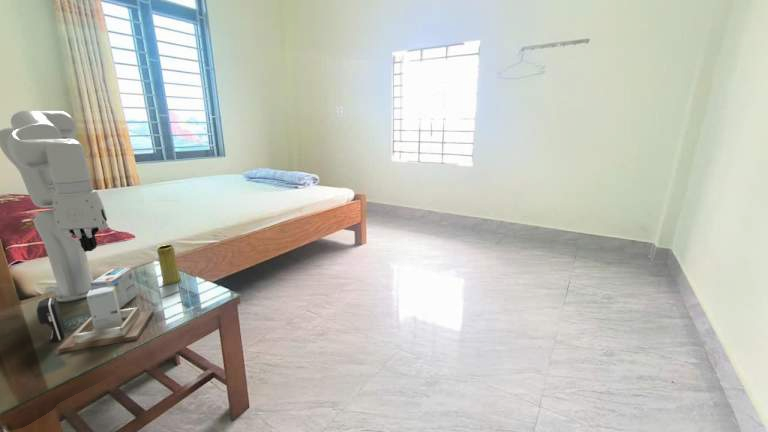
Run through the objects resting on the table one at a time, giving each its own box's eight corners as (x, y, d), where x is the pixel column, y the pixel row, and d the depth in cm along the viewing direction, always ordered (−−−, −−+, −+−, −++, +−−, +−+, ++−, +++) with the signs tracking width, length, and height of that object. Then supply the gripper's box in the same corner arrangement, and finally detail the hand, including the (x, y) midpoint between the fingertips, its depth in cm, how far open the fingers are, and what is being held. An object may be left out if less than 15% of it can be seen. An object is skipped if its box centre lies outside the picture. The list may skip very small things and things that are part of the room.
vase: (184, 279, 131) (177, 245, 127) (167, 286, 126) (160, 250, 122) (176, 276, 134) (169, 242, 131) (159, 282, 129) (152, 247, 126)
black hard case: (48, 334, 98) (37, 299, 95) (66, 329, 100) (55, 294, 97) (45, 345, 93) (33, 309, 90) (64, 340, 95) (53, 304, 92)
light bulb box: (118, 296, 119) (111, 268, 117) (138, 294, 120) (131, 267, 117) (96, 312, 109) (88, 282, 106) (118, 310, 110) (110, 280, 107)
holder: (59, 352, 90) (55, 340, 89) (86, 324, 102) (83, 313, 101) (137, 339, 95) (134, 327, 94) (153, 313, 108) (151, 303, 107)
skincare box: (95, 335, 95) (84, 296, 92) (97, 327, 99) (87, 290, 95) (122, 328, 98) (112, 290, 95) (123, 320, 102) (114, 284, 99)
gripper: (30, 191, 86) (50, 257, 91) (100, 188, 90) (115, 251, 95) (49, 185, 92) (66, 247, 98) (113, 183, 97) (126, 242, 102)
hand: (90, 249), depth 96 cm, fingers closed
